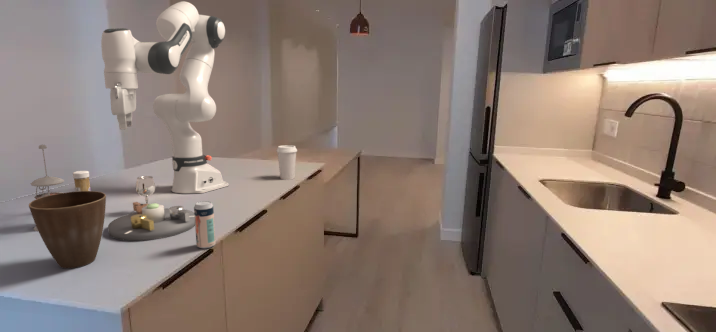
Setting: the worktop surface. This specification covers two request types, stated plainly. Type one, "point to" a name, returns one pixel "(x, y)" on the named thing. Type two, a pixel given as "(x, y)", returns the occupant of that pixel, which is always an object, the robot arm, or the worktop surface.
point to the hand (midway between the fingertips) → (126, 127)
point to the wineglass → (145, 186)
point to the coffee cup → (287, 161)
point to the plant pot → (71, 225)
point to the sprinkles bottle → (81, 181)
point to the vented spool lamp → (45, 182)
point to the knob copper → (138, 207)
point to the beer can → (204, 224)
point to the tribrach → (162, 225)
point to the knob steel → (179, 213)
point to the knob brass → (141, 222)
